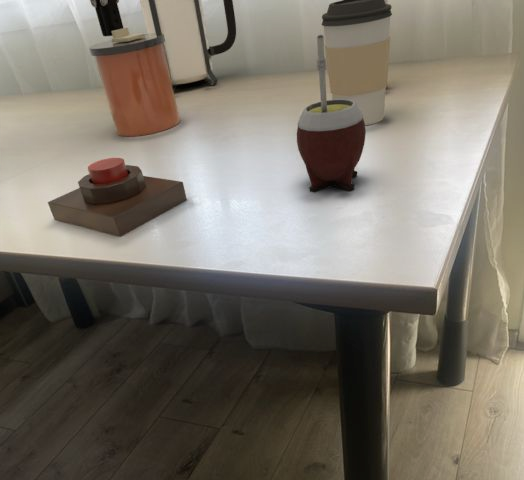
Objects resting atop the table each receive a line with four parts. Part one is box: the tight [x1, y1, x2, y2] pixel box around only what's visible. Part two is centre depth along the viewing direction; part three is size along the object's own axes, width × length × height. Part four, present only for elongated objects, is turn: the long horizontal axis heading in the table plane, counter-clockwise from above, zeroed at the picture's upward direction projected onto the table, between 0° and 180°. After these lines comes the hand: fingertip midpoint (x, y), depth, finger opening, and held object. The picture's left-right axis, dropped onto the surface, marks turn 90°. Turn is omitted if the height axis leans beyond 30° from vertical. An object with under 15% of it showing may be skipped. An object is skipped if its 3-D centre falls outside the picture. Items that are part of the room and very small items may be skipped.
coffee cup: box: [321, 0, 393, 127], centre depth 72 cm, size 9×9×15 cm
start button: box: [87, 157, 128, 184], centre depth 58 cm, size 4×4×2 cm
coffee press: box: [139, 0, 237, 93], centre depth 108 cm, size 17×16×30 cm
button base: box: [47, 164, 188, 238], centre depth 60 cm, size 12×10×4 cm
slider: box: [111, 27, 146, 43], centre depth 83 cm, size 4×4×2 cm
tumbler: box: [88, 33, 181, 137], centre depth 88 cm, size 12×12×13 cm
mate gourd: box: [296, 34, 367, 193], centre depth 53 cm, size 8×8×15 cm
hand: (113, 34), depth 85 cm, fingers closed
